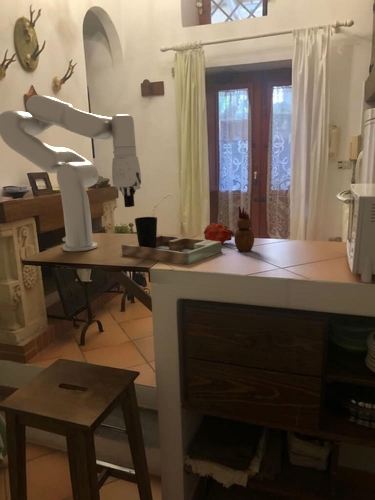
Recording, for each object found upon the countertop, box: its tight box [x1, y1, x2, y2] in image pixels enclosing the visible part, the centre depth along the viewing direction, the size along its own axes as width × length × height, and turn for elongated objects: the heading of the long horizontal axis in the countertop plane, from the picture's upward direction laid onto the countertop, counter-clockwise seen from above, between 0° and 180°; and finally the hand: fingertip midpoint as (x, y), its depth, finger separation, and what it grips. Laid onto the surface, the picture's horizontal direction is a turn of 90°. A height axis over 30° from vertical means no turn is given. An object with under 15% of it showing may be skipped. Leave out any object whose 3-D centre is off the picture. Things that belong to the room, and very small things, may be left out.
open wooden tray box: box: [121, 234, 223, 266], centre depth 133 cm, size 28×20×4 cm
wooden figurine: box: [233, 206, 255, 253], centre depth 132 cm, size 7×6×15 cm
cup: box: [134, 216, 158, 249], centre depth 135 cm, size 8×8×12 cm
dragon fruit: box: [203, 222, 235, 245], centre depth 145 cm, size 8×8×12 cm
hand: (129, 206), depth 137 cm, fingers closed
